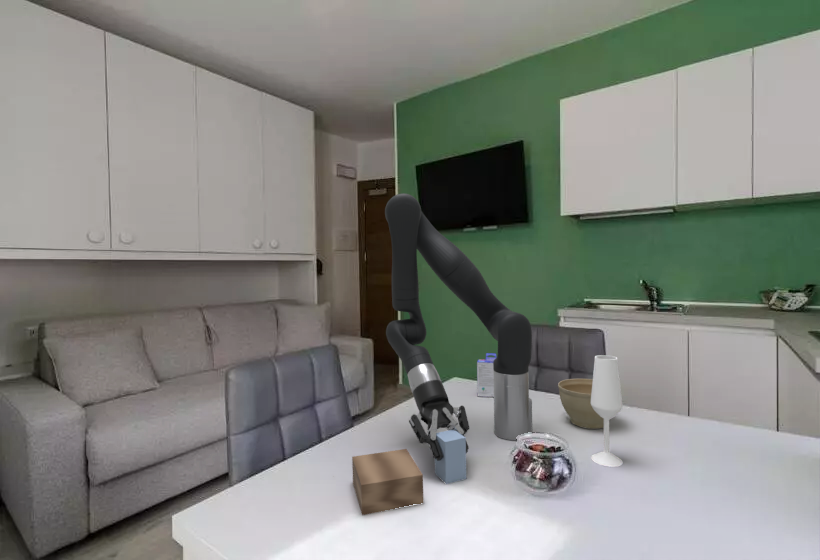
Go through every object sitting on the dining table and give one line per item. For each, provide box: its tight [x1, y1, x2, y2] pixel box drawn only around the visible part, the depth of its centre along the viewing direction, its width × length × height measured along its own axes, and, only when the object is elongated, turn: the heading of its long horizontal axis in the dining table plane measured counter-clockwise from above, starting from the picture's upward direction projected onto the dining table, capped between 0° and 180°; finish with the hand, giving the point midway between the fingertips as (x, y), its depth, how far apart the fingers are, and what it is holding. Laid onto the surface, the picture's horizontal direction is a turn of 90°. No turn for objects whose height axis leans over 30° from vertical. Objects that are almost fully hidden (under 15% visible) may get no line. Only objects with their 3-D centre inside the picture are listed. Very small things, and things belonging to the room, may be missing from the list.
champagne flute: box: [590, 354, 624, 468], centre depth 96 cm, size 7×7×24 cm
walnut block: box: [351, 448, 424, 516], centre depth 84 cm, size 12×12×6 cm
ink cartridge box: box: [476, 352, 497, 398], centre depth 145 cm, size 10×6×14 cm, turn 78°
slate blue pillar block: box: [434, 429, 467, 485], centre depth 90 cm, size 5×5×9 cm
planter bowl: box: [557, 378, 604, 430], centre depth 118 cm, size 16×16×11 cm
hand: (452, 456), depth 89 cm, fingers open, 5 cm apart
